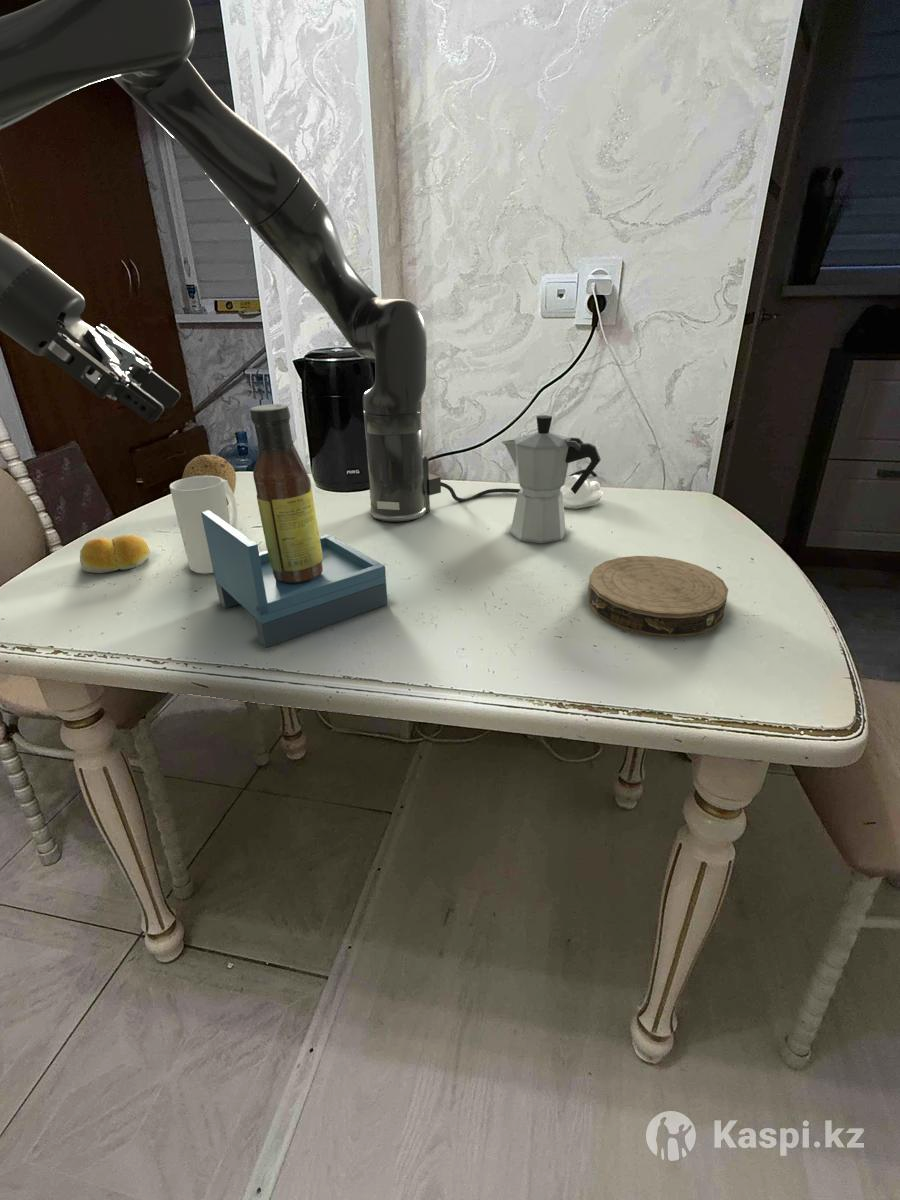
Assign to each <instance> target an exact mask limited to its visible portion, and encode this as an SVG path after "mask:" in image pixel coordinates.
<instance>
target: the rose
mask: <svg viewBox="0 0 900 1200" xmlns="http://www.w3.org/2000/svg"><path fill="white" fill-rule="evenodd" d="M581 475H582V474H579V475H573V476H568V475H567V476H568V477H566V478H565V483H564V485H563V486H562V487H561V489H560V491H561V492H562V496H563V507H564V508H566V509H572V510H573V509H574V510H576V509H582V508H587V507H588V508H589V507H595V506H597V504H598V503H599V502H600V500H601V499H602V497H603V495H604V494H603V491H602V490H601V484H600V482H598V481H596V480H592V481H591V480H589V477H588V478H587V479H586V480H585V482H584V483H583V484H582V486H581V487H580V488H579V490H578V491H577V492H576V494H574V492H573V491H572V490H571V488H572V487H573V485H574V484H575V483H576V481H577V480H578V479H579V477H580V476H581Z"/></svg>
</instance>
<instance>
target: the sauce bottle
mask: <svg viewBox="0 0 900 1200" xmlns="http://www.w3.org/2000/svg"><path fill="white" fill-rule="evenodd" d="M289 409H290V408H289V406H288V405H287V404H284V403H283V404H282V403H272V404H270V403H269V404H262V405H256V406H253V407H251V408H250V410H249V412H250V413H249V414H250V418H251V422H252V423H253V425H254V430H255V434H256V441H257V445H256V446H257V448H258V455H257V461H256V463H255V465H254V468H253V472H252V477H253V481H254V486H255V491H256V500H257V506H258V510H259V511H258V512H259V516H260V521H261V526H262V530H263V536H264V541H265V545H266V551H268V556H269V561H270V566H271V568H272V569H273V575H274V577H275V579H277V580H279V581H282V582H285V583H303V582H307V581H310V580H313V579H315V578H316V577H318V576H319V575H320V574H321V573H322V572H323V565H322V559H323V555H322V549H321V542H320V536H321V535H320V530H319V524H318V519H317V518H318V517H317V512H316V505H315V501H314V500H315V499H314V493H313V487H312V482H311V478H310V476H309V474H308V472H307V470H306V468H305V465H304V463H303V460H302V459H301V457H300V455H299V453H298V450H297V448H296V446H295V444H294V441H293V437H292V431H291V424H290V420H291V413H290V410H289Z"/></svg>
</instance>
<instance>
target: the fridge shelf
mask: <svg viewBox="0 0 900 1200" xmlns="http://www.w3.org/2000/svg"><path fill="white" fill-rule="evenodd" d="M201 515H202V520H203V524H204V529H205V534H206V539H207V544H208V548H209V553H210V558H211V563H212V568H213V573H212V574H213V576H214V581H215V587H216V591H217V596H218V601H219V603H220V605H221V606H222V607H223V608H225V609H228V608H232V607H235V606H238V605H240V606H242V607H243V608H244V609H245V610H246V611H247V612H248V613H249V614H250V615H252V616H253V617H254V623H255V627H256V632H257V638H258V641H259V642H260V643H261V644H262V646H263V647H265V648H269V647H272V646H275V645H277V644H278V645H279V644H281V643H283V642H286V641H289V640H291V639H294V638H298V637H300V636H304V635H306V634H309V633H311V632H314V631H317V630H319V629H322V628H325V627H328V626H331V625H334V624H337V623H339V622H342V621H345V620H347V619H350V618H353V617H356V616H359V615H361V614H364V613H368V612H369V611H374V610H376V609H378V608H381V607H383V606H386V605H388V604H389V603H388V589H387V576H386V566H385V565H384V564H382V563H380V562H378V561H377V560H375V559H374V558H372V557H370V556H368V555H366V554H365V553H363V552H361V551H359V550H357V549H355V548H354V547H352V546H351V545H348V544H347V543H345V542H344V541H342V540H340V539H338V538H337V537H335V536H333V535H332V534H330V533H326V534H323V535H319V536H320V542H321V549H322V555H323V559H322V565H323V572H322V573H321V574H320V575H319V576H318V577H316V578H315V579H313V580H310V581H307V582H303V583H285V582H282V581H279V580H277V579H275V577H274V575H273V569H272V568H271V566H270V561H269V556H268V551H267V550H263V551H260V552H259V545H258V543H256V542H254V540H252V539H250V537H248V536H246V535H245V534H244V533H242V532H241V531H239V530H238V529H237V528H236V529H235V528H234V527H232V526H231V525H229V524H228V523H227V522H225V521H224V520H222V519H221V518H220V517H218V516H217V515H215V514H214V513H212V512H211V511H210V510H207V511H203V512H201Z"/></svg>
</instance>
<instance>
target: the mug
mask: <svg viewBox="0 0 900 1200" xmlns="http://www.w3.org/2000/svg"><path fill="white" fill-rule="evenodd" d="M168 487H169V489H170V494H171V499H172V503H173V508H174V511H175V514H176V515H175V516H176V519H177V523H178V527H179V531H180V535H181V539H182V542H183V547H184V551H185V554H186V558H187V562H188V564H189V565H188V566H189V569H190V570H191V571H192V572H194V573H197V574H205V575H206V574H214V573H213V568H212V563H211V558H210V553H209V548H208V544H207V539H206V534H205V529H204V524H203V520H202V515H201V512H203V511H207V510H210V511H211V512H212V513H214V514H215V515H217V516H218V517H220V518H221V519H222V520H224V521H225V522H227V523H228V524H229V525H231V526H232V527H234V528H235V529H236V530H237V528H238V527H237V526H238V525H237V524H238V507H237V501H236V497H235V493H234V494H233V492H232V490H231V488H230V487H229V485H228V481H227V480H223V479H222V478H220V477H216V476H195V477H189V478H184V479H182V478H181V479H178V480H175V481H173V482H171V483H170V484H169V486H168ZM226 497H227V500H228V503H229V505H228V506H227V501H226Z"/></svg>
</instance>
